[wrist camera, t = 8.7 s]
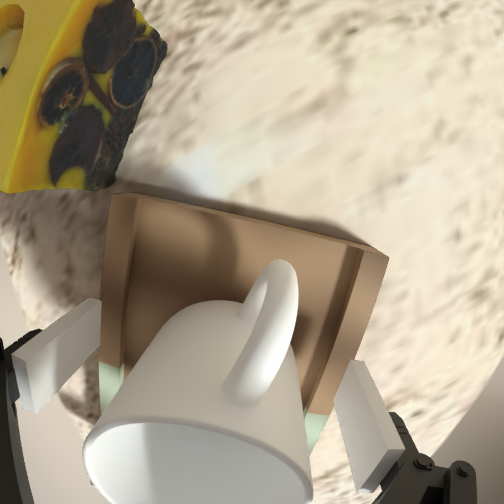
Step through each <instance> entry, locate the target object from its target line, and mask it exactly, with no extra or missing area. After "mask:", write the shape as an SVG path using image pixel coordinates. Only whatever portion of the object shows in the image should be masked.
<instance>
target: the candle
mask: <svg viewBox="0 0 504 504" xmlns="http://www.w3.org/2000/svg"><path fill="white" fill-rule="evenodd" d="M134 7H135V4H134V3H133V1H132V0H0V191H2V192H5V193H8V194H9V193H20V192H25V191H28V190H42V189H44V188H46V189H80V190H91V191H97V190H98V189H100V188H101V187H104V188H108V187H110V186H111V185H112V183H113V182H114V181H115V180H116V176H115V173H116V171H117V169H118V165H119V163H120V161H121V160H122V158H123V152H124V148H125V146H126V143H127V141H128V138H129V135H130V134H131V133H133V129H134V126H135V123H136V120H137V117H138V114H139V111H140V109H141V106H142V104H143V101H144V99H145V96H146V94H147V92H148V90H149V89H150V88H151V86H152V81H153V77H154V75H155V74H156V72H157V70H158V68H159V67H160V64H161V62H162V60H163V59H164V58H165V56H166V55H167V43H166V42H165V41H163V40H162V39H161V37H160V34H159V33H158V32H157V31H156V30H155V29H154V28H152V27H150V26H149V25H148V23H147V22H146V21H145V19H144V18H143V16H142V14H141V12H139V11H138V10H137V9H135V8H134Z"/></svg>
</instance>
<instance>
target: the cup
mask: <svg viewBox="0 0 504 504" xmlns="http://www.w3.org/2000/svg"><path fill="white" fill-rule="evenodd" d="M297 310H298V282H297V276H296V272H295V270H294V268H293V267H292V265H291V264H290V263H288V262H287V261H285V260H281V259H278V260H273V261H272V262H270V263H269V264H267V265H266V267H265V268H264V269H263V271H262V272H261V273H260V275H259V277H258V278H257V280H256V281H255V283H254V285H253V287H252V288H251V290H250V292H249V294H248V296H247V298H246V299H245V301H244V303H243V304H242V303H239V302H234V301H226V300H211V301H204V302H199V303H196V304H193V305H190V306H188V307H186V308H184V309H182V310H181V311H179V312H178V313H176V314H175V315H174V316H172V317H171V318H170V319H169V320H168V321H167V322H166V323H165V324H164V325H163V327H162V328H161V329H160V331H159V332H158V333H157V335H156V336H155V338H154V339H153V340H152V342H151V343H150V345H149V346H148V348H147V349H146V350H145V352H144V353H143V355H142V356H141V358H140V359H139V360H138V362H137V363H136V365H135V366H134V368H133V369H132V371H131V372H130V373H129V375H128V376H127V378H126V379H125V381H124V382H123V384H122V385H121V387H120V388H119V390H118V391H117V393H116V394H115V395H114V397H113V398H112V400H111V401H110V403H109V404H108V406H107V407H106V409H105V410H104V412H103V413H102V415H101V416H100V418H99V419H98V421H97V422H96V424H95V425H94V427H93V428H92V430H91V431H90V433H89V434H88V436H87V437H86V439H85V442H84V445H83V451H82V456H83V463H84V467H85V470H86V472H87V475H88V476H89V478H90V480H91V482H92V483H93V485H94V486H95V487H96V489H97V490H98V491H99V492H100V493H101V494H102V495H103V496H104V497H105V499H107V500H108V501H109V502H110V503H111V504H312V500H313V484H312V476H311V468H310V460H309V452H308V444H307V437H306V429H305V422H304V415H303V407H302V400H301V393H300V386H299V379H298V372H297V366H296V361H295V356H294V352H293V349H292V346H291V344H290V341H291V338H292V335H293V331H294V327H295V322H296V317H297Z"/></svg>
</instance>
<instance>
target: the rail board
mask: <svg viewBox="0 0 504 504" xmlns="http://www.w3.org/2000/svg"><path fill="white" fill-rule="evenodd" d="M278 259H281V260H285V261H287V262H288V263H290V264H291V265H292V267H293V268H294V270H295V272H296V276H297V282H298V310H297V317H296V322H295V327H294V331H293V335H292V338H291V341H290V344H291V346H292V349H293V352H294V356H295V361H296V366H297V372H298V379H299V386H300V393H301V400H302V407H303V415H304V422H305V429H306V437H307V444H308V452H309V456H310V454H311V452H312V450H313V448H314V446H315V444H316V442H317V440H318V438H319V436H320V434H321V432H322V430H323V428H324V426H325V424H326V422H327V420H328V418H329V416H330V414H331V411H332V409H333V407H334V402H333V400H334V397H335V395H336V393H337V391H338V388H339V386H340V384H341V381H342V379H343V377H344V374H345V372H346V369H347V367H348V364H349V362H350V359H351V360H354V359H355V356H356V354H357V351H358V348H359V346H360V343H361V341H362V338H363V335H364V333H365V330H366V327H367V325H368V322H369V319H370V316H371V314H372V311H373V308H374V305H375V302H376V299H377V296H378V293H379V290H380V287H381V284H382V281H383V278H384V274H385V271H386V268H387V265H388V261H389V257H388V256H386V255H385V254H383V253H382V252H380V251H378V250H377V249H375V248H374V247H370V246H366V245H363V244H359V243H355V242H351V241H347V240H343V239H339V238H335V237H331V236H327V235H323V234H319V233H315V232H311V231H306V230H302V229H298V228H294V227H290V226H286V225H281V224H277V223H273V222H268V221H264V220H260V219H255V218H251V217H247V216H242V215H238V214H233V213H229V212H224V211H220V210H215V209H211V208H206V207H201V206H197V205H192V204H187V203H183V202H178V201H173V200H168V199H163V198H159V197H154V196H149V195H144V194H139V193H134V192H128V193H118V194H112V195H111V201H110V208H109V215H108V222H107V230H106V238H105V247H104V256H103V267H102V279H101V294H100V301H102V305H101V331H100V346H99V391H100V410H101V415H102V413H103V412H104V410H105V409H106V407H107V406H108V404H109V403H110V401H111V400H112V398H113V397H114V395H115V394H116V393H117V391H118V390H119V388H120V387H121V385H122V384H123V382H124V381H125V379H126V378H127V376H128V375H129V373H130V372H131V371H132V369H133V368H134V366H135V365H136V363H137V362H138V360H139V359H140V358H141V356H142V355H143V353H144V352H145V350H146V349H147V348H148V346H149V345H150V343H151V342H152V340H153V339H154V338H155V336H156V335H157V333H158V332H159V331H160V329H161V328H162V327H163V325H164V324H165V323H166V322H167V321H168V320H169V319H170V318H171V317H172V316H174V315H175V314H176V313H178V312H179V311H181V310H182V309H184V308H186V307H188V306H190V305H193V304H196V303H199V302H204V301H211V300H226V301H234V302H239V303H242V304H243V303H244V301H245V299H246V298H247V296H248V294H249V292H250V290H251V288H252V287H253V285H254V283H255V281H256V280H257V278H258V277H259V275H260V273H261V272H262V271H263V269H264V268H265V267H266V265H267V264H269V263H270V262H272V261H273V260H278ZM90 482H91V480H90ZM91 485H93V483H92V482H91Z"/></svg>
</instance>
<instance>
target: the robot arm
mask: <svg viewBox="0 0 504 504" xmlns="http://www.w3.org/2000/svg"><path fill="white" fill-rule="evenodd" d="M101 305H102V301H100V300H97V299H94V298H91V297H89V298H88V299H86V300H85V301H83V302H82V303H80V304H79V305H78V306H76V307H75V308H73V309H72V310H71V311H69V312H68V313H66V314H65V315H64V316H62V317H61V318H59V319H58V320H57V321H55V322H54V323H52V324H51V325H50V326H48V327H47V328H46V329H44V330H41V329H36V330H33V331H30V332H28V333H27V334H25V335H24V336H23V338H22V337H21V338H20V339H18V341H16V342H14V343H13V344H12V345H10V346H9V347H7V348H6V349H5V350H4V346H3V341H2V339H1V338H0V504H34V501H33V496H32V493H31V489H30V485H29V481H28V476H27V472H26V467H25V462H24V457H23V452H22V446H21V440H20V434H19V427H18V419H17V410H16V405H15V401H16V400H17V399H18V398H19V397H20V400H21V404H22V407H23V408H25V409H26V410H28V411H30V412H32V413H33V414H35V415H36V414H37V413H38V412H39V411H40V410H41V409H42V407H43V406H44V405H45V404H46V403H47V402H48V401H49V400H50V398H51V397H52V396H53V395H54V394H55V393H56V392H57V391H58V390H59V389H60V388H61V387H62V386H63V385H64V383H65V382H66V381H67V380H68V379H69V378H70V377H71V376H72V375H73V374H74V373H75V372H76V371H77V369H78V368H79V367H80V366H81V365H82V364H83V363H84V362H85V361H86V360H87V359H88V358H89V357H90V356H91V355H92V354H93V353H94V352H95V351H96V349H97V348H98V347H99V346H100V331H101ZM333 402H334V406H335V410H336V413H337V417H338V421H339V425H340V428H341V432H342V436H343V440H344V444H345V448H346V452H347V456H348V460H349V464H350V468H351V472H352V476H353V480H354V484H355V488H356V492H357V493H373V492H374V491H375V490H376V489H377V487H378V486H379V485H381V489H382V492H381V493H380V494H379V495H378V497H377V498H376V499H375V500H374V501H373V503H372V504H477V487H476V486H477V485H476V473H475V469H474V468H473V467H472V466H471V465H470V464H469V463H467V462H465V461H459V460H458V461H455V462H454V463H452V465H451V466H450V467H449V468H444V467H438V466H435V464H434V462H433V460H432V459H431V458H430V457H428V456H427V455H425V454H422V453H419V452H418V450H417V448H416V446H415V444H414V442H413V440H412V438H411V436H410V434H409V432H408V430H407V428H406V426H405V424H404V422H403V420H402V418H400V417H399V416H398V415H397V414H396V413H395V412H388V410H387V408H386V406H385V404H384V402H383V400H382V398H381V396H380V393H379V391H378V389H377V387H376V385H375V383H374V381H373V379H372V377H371V375H370V373H369V371H368V369H367V367H366V365H365V363H364V361H358V360H351V359H350V362H349V364H348V367H347V369H346V372H345V374H344V377H343V379H342V381H341V384H340V386H339V388H338V391H337V393H336V395H335V397H334V400H333Z"/></svg>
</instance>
